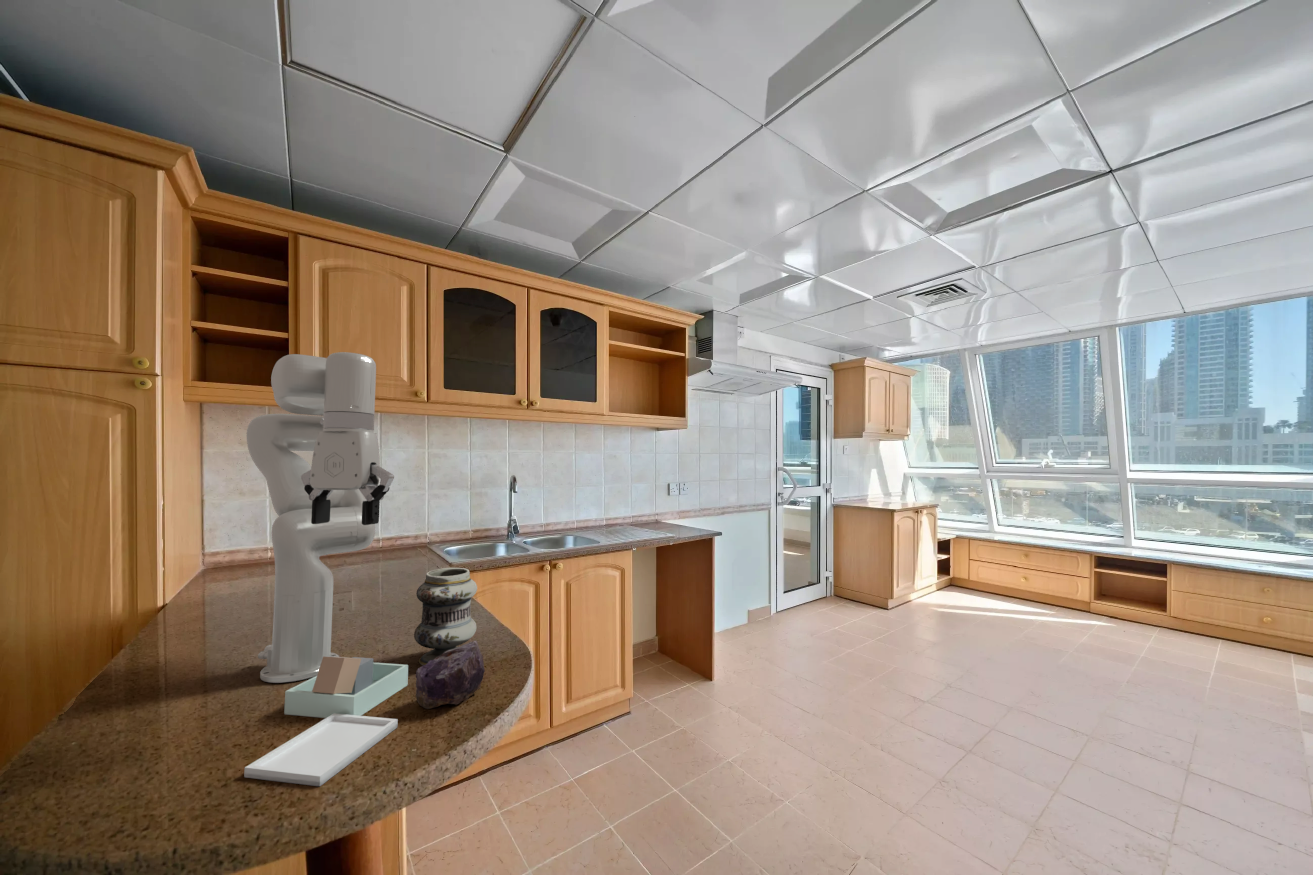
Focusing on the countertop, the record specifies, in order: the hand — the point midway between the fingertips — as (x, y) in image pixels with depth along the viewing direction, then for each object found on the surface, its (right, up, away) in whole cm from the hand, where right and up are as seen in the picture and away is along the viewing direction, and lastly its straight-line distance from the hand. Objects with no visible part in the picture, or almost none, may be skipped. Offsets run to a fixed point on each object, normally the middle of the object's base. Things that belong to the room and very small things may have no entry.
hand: (345, 523), depth 83 cm
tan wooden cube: (0, -27, -4) cm, 27 cm away
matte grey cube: (+1, -30, +1) cm, 30 cm away
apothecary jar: (+9, -32, +18) cm, 38 cm away
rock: (+19, -31, 0) cm, 36 cm away
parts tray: (+7, -29, -15) cm, 34 cm away
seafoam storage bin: (0, -30, +1) cm, 30 cm away
